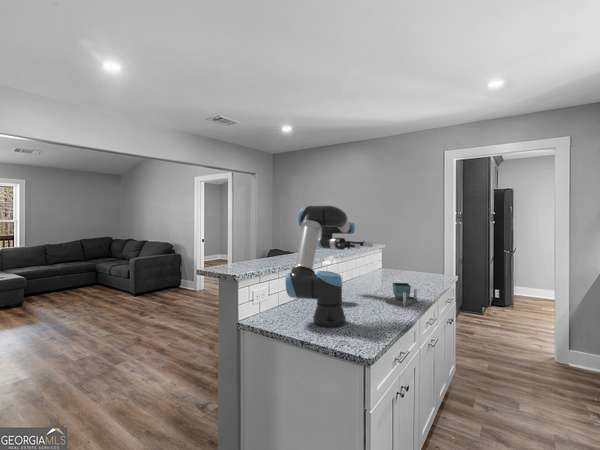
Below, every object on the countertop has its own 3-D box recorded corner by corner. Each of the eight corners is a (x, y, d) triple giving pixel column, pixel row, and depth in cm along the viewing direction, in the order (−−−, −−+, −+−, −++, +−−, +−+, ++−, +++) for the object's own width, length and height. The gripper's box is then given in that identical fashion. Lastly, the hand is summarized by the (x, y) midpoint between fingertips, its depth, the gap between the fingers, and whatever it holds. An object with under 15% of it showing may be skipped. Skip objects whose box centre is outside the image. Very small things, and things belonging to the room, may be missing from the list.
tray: (405, 306, 177) (405, 293, 177) (385, 302, 185) (385, 289, 185) (417, 301, 187) (417, 288, 187) (398, 298, 196) (398, 285, 196)
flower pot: (407, 298, 190) (407, 282, 190) (411, 301, 181) (411, 285, 181) (392, 297, 191) (392, 282, 191) (395, 301, 182) (395, 285, 182)
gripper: (349, 248, 219) (377, 250, 204) (325, 250, 202) (354, 253, 187) (349, 236, 219) (377, 238, 204) (325, 238, 201) (354, 240, 186)
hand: (366, 245), depth 195 cm, fingers open, 13 cm apart
